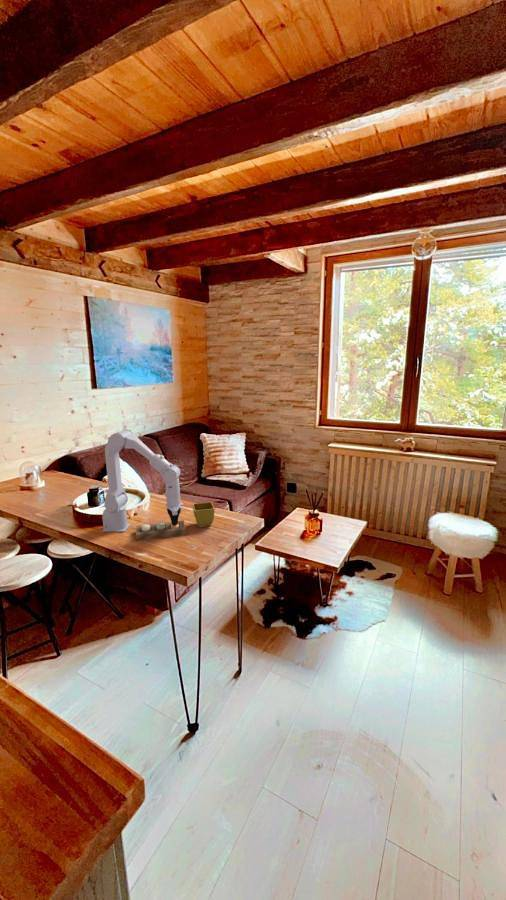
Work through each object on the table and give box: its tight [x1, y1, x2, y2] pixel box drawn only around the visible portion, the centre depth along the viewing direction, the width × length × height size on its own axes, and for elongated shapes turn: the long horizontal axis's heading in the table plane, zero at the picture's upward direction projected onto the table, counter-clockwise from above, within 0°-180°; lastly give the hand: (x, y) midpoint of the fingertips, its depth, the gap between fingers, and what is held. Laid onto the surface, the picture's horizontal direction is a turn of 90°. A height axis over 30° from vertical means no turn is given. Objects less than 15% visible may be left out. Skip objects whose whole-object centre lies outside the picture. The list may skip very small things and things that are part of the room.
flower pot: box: [192, 501, 216, 528], centre depth 168 cm, size 9×9×9 cm
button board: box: [135, 520, 186, 542], centre depth 161 cm, size 20×9×2 cm, turn 105°
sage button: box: [155, 522, 166, 530], centre depth 161 cm, size 4×4×2 cm
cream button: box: [140, 523, 151, 532], centre depth 159 cm, size 4×4×2 cm
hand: (174, 524), depth 162 cm, fingers closed
